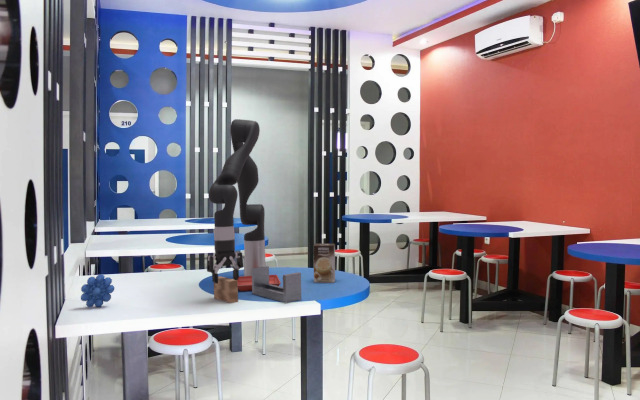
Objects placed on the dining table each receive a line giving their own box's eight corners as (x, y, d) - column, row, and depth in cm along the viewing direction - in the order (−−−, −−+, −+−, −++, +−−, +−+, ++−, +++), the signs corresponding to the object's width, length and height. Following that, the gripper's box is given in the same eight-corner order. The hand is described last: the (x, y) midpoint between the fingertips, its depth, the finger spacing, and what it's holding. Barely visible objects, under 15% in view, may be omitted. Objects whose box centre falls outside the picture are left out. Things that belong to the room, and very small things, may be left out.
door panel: (214, 298, 205) (213, 277, 205) (221, 296, 207) (220, 276, 206) (231, 303, 196) (230, 281, 196) (238, 301, 198) (237, 280, 198)
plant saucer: (281, 290, 217) (281, 282, 217) (236, 293, 214) (235, 285, 214) (277, 281, 235) (276, 274, 235) (235, 284, 232) (235, 276, 231)
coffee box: (313, 282, 229) (312, 245, 228) (314, 279, 235) (314, 243, 234) (334, 282, 228) (334, 245, 227) (335, 279, 234) (335, 243, 234)
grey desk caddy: (252, 293, 210) (251, 268, 210) (267, 290, 215) (266, 266, 214) (286, 303, 194) (285, 275, 194) (301, 299, 199) (300, 272, 198)
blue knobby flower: (117, 303, 199) (116, 271, 199) (113, 307, 193) (112, 274, 192) (84, 305, 197) (82, 273, 197) (79, 309, 191) (77, 276, 190)
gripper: (235, 236, 208) (236, 277, 208) (202, 239, 198) (203, 283, 199) (246, 237, 202) (247, 280, 203) (212, 240, 193) (214, 285, 193)
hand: (225, 281), depth 201 cm, fingers open, 8 cm apart
